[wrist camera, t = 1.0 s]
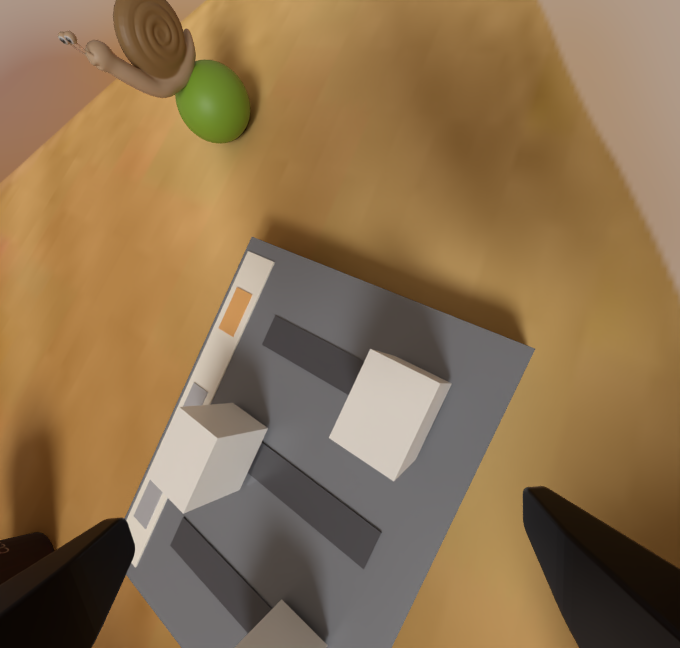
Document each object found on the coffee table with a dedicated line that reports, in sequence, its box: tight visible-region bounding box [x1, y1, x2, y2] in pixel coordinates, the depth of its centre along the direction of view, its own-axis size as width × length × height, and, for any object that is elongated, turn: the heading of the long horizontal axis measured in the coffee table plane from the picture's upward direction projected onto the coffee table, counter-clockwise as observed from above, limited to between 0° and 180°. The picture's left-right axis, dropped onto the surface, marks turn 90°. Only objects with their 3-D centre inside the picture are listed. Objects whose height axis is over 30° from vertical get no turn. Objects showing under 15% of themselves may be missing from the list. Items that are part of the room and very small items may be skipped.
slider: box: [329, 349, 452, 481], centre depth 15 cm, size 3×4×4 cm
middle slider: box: [148, 403, 268, 514], centre depth 18 cm, size 3×4×4 cm
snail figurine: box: [58, 0, 250, 143], centre depth 23 cm, size 5×6×12 cm
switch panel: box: [125, 237, 535, 648], centre depth 20 cm, size 18×24×3 cm
